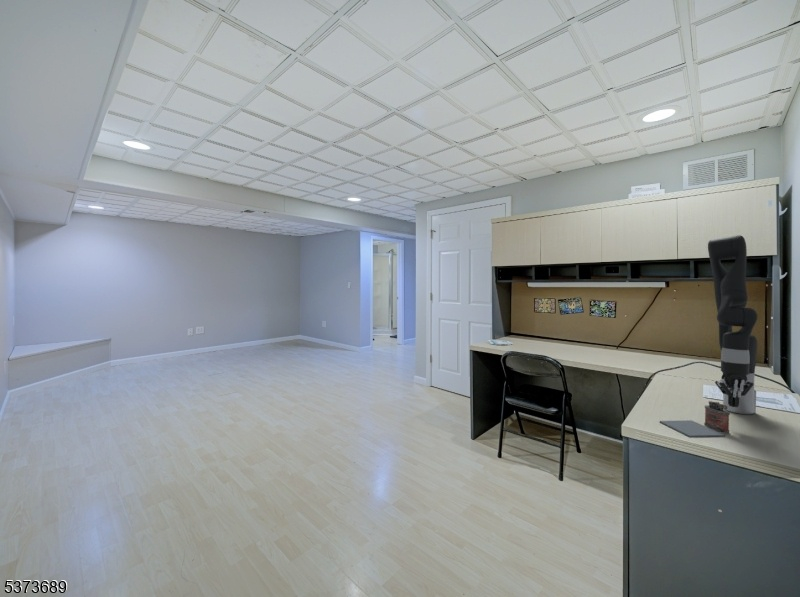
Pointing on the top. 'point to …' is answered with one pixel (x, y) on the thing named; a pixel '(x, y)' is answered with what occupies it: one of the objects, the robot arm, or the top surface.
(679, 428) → the mat
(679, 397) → the top surface
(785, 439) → the top surface
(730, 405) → the robot arm
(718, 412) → the lighter
